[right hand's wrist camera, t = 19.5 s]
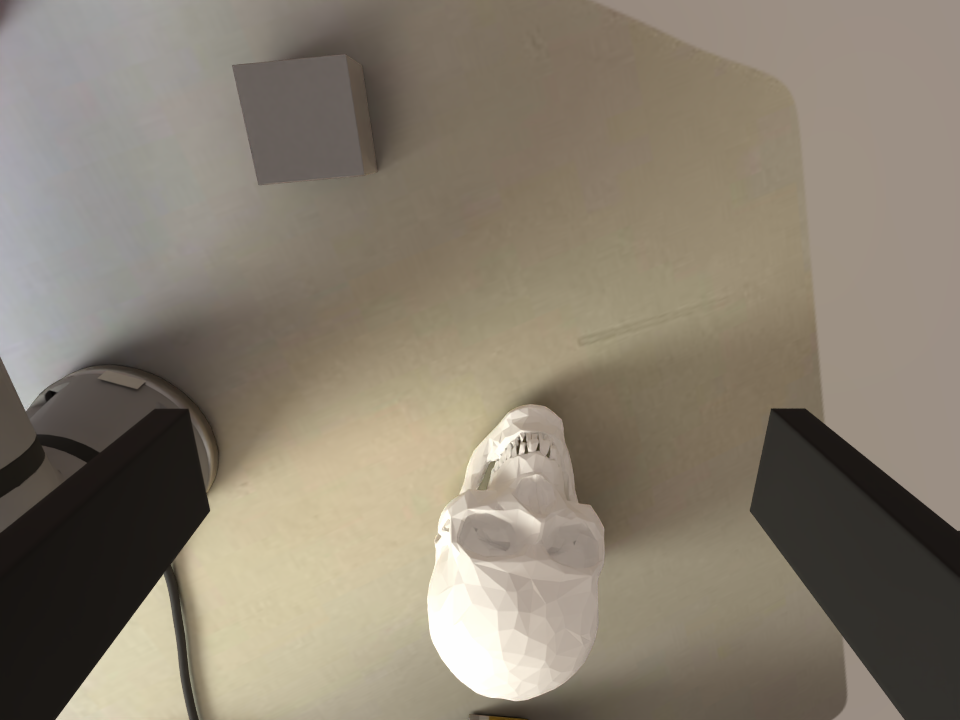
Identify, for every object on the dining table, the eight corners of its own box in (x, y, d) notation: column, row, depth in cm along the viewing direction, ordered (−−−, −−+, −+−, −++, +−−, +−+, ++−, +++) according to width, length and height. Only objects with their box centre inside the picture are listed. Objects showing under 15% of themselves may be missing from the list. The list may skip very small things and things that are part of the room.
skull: (605, 399, 47) (654, 515, 32) (568, 600, 55) (594, 768, 40) (448, 384, 47) (425, 494, 32) (434, 588, 55) (410, 751, 40)
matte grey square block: (377, 172, 41) (364, 175, 36) (283, 180, 41) (258, 185, 36) (362, 65, 38) (345, 53, 33) (262, 75, 38) (231, 65, 34)
